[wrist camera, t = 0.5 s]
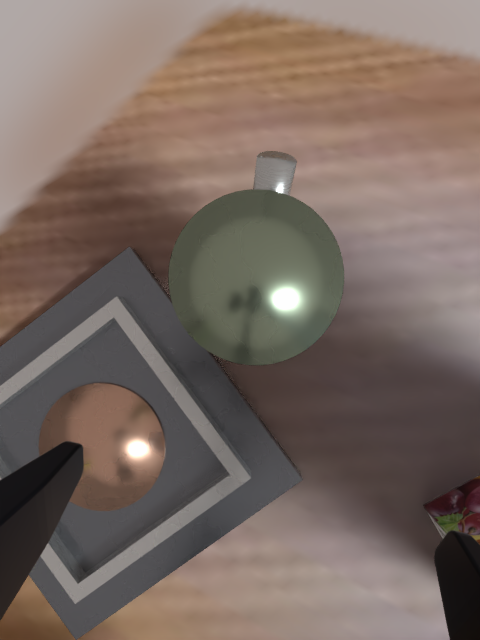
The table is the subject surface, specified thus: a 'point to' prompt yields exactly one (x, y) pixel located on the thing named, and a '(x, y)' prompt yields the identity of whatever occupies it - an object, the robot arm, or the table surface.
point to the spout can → (257, 271)
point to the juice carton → (458, 510)
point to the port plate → (131, 440)
